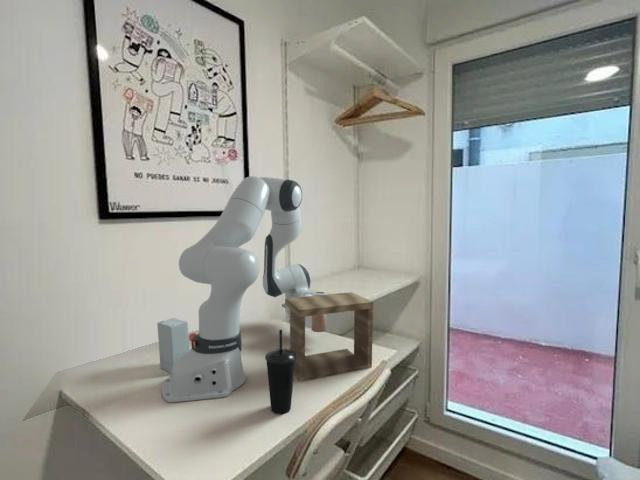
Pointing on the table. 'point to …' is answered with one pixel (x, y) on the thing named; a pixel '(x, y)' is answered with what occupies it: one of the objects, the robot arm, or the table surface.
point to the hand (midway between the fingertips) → (320, 311)
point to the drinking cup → (280, 377)
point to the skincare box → (172, 341)
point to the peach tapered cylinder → (319, 322)
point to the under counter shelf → (332, 360)
